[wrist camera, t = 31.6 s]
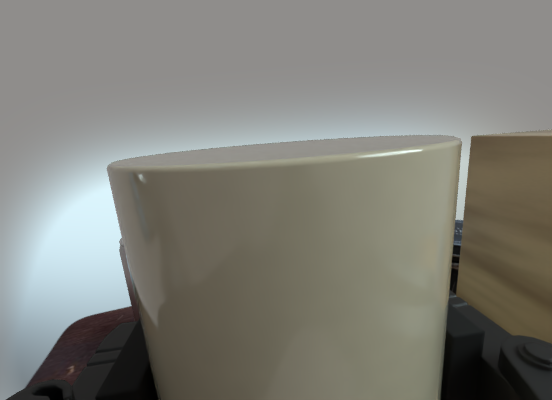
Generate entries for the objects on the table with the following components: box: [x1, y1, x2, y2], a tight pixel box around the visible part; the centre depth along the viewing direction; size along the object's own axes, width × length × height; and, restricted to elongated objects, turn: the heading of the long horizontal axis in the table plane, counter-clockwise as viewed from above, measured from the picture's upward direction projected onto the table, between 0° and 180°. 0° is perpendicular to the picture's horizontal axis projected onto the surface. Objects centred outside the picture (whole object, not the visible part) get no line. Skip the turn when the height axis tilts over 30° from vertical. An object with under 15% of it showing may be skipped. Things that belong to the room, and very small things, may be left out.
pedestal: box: [456, 130, 552, 344], centre depth 18 cm, size 7×7×25 cm
